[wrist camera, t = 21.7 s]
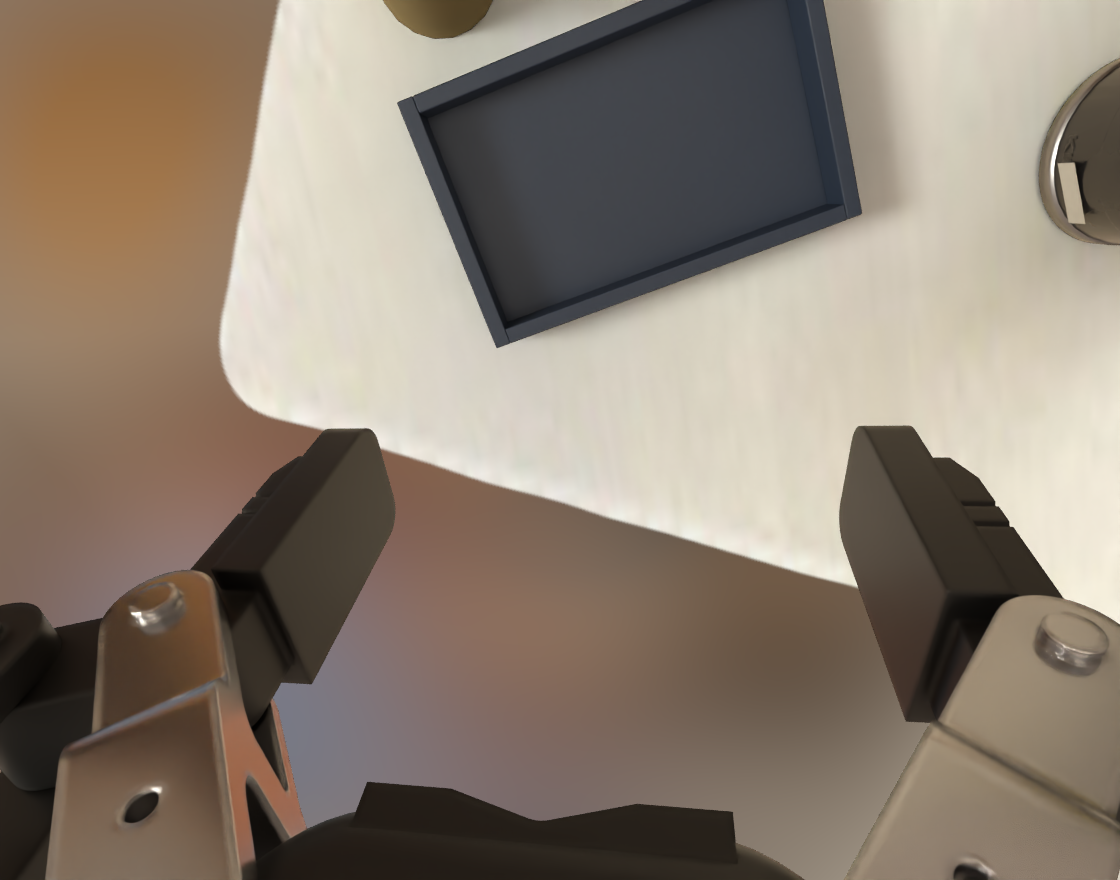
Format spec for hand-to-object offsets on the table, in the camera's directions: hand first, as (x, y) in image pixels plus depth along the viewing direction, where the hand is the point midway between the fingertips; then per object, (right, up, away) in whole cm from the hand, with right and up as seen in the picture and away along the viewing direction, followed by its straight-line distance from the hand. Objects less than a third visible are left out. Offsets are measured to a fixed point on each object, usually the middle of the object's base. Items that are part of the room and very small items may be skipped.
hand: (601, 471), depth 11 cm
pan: (+3, +15, +23) cm, 28 cm away
